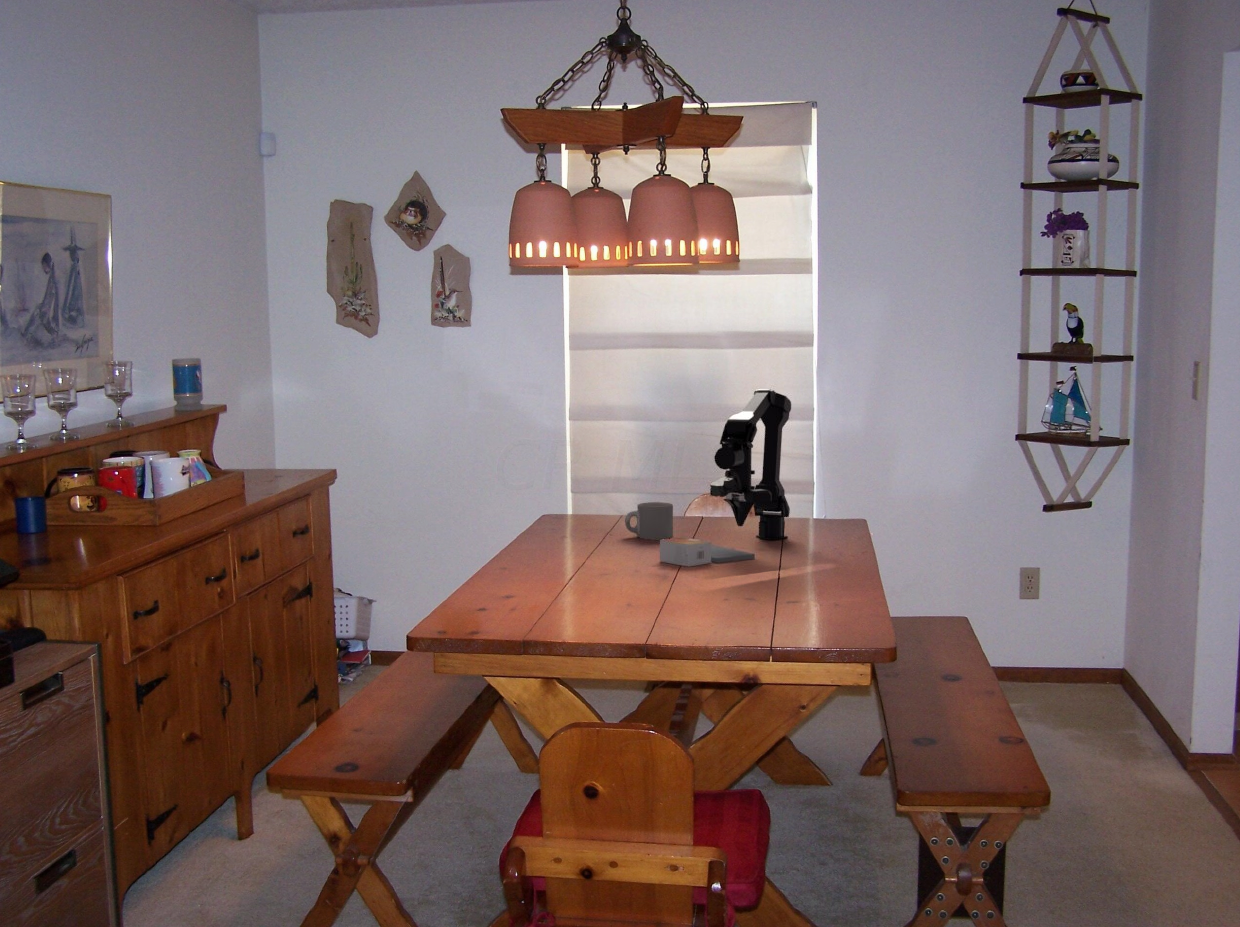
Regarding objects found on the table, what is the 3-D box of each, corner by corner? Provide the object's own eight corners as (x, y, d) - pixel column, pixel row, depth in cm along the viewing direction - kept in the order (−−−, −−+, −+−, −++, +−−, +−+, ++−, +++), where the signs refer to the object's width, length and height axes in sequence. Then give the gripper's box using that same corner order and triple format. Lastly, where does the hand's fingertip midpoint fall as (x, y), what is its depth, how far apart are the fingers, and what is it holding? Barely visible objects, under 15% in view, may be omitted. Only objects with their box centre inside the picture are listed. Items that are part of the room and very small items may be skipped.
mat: (711, 549, 309) (711, 544, 309) (754, 558, 294) (754, 553, 294) (674, 553, 303) (674, 548, 302) (717, 563, 288) (717, 558, 287)
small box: (689, 544, 282) (658, 539, 289) (689, 567, 282) (658, 561, 290) (711, 540, 287) (681, 536, 295) (711, 563, 288) (681, 557, 295)
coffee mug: (672, 537, 331) (672, 502, 330) (673, 542, 321) (673, 506, 320) (625, 537, 331) (625, 502, 330) (624, 542, 321) (624, 506, 320)
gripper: (693, 465, 304) (693, 524, 306) (738, 470, 289) (738, 533, 290) (727, 463, 310) (727, 521, 312) (772, 468, 295) (772, 529, 296)
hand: (740, 526), depth 302 cm, fingers closed
